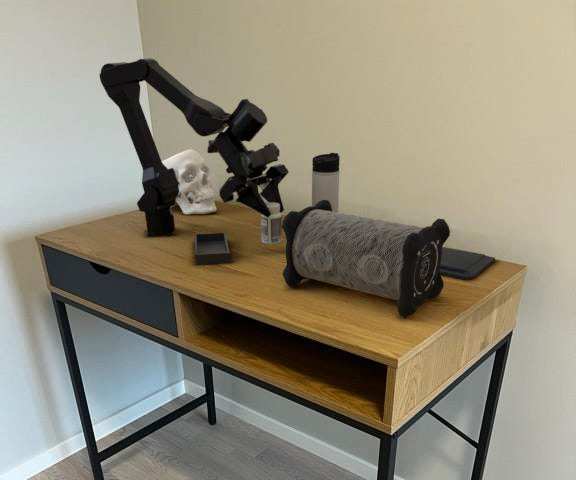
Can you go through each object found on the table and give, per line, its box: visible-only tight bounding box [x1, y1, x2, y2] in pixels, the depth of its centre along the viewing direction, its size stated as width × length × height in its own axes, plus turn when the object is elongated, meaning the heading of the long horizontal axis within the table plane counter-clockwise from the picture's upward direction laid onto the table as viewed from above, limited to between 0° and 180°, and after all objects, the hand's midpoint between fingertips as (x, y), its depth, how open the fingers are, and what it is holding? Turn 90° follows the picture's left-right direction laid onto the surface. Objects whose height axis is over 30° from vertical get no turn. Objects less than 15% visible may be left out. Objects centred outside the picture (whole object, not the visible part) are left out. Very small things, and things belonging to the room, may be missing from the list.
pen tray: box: [194, 231, 231, 266], centre depth 137 cm, size 16×8×2 cm, turn 8°
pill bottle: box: [260, 202, 283, 245], centre depth 134 cm, size 5×5×8 cm
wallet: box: [439, 246, 496, 281], centre depth 130 cm, size 20×2×15 cm
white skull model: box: [161, 148, 217, 216], centre depth 170 cm, size 14×20×19 cm
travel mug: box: [311, 152, 341, 213], centre depth 139 cm, size 6×7×20 cm
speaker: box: [282, 200, 451, 318], centre depth 112 cm, size 15×28×15 cm, turn 53°
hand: (276, 213), depth 132 cm, fingers closed on pill bottle, 4 cm apart
